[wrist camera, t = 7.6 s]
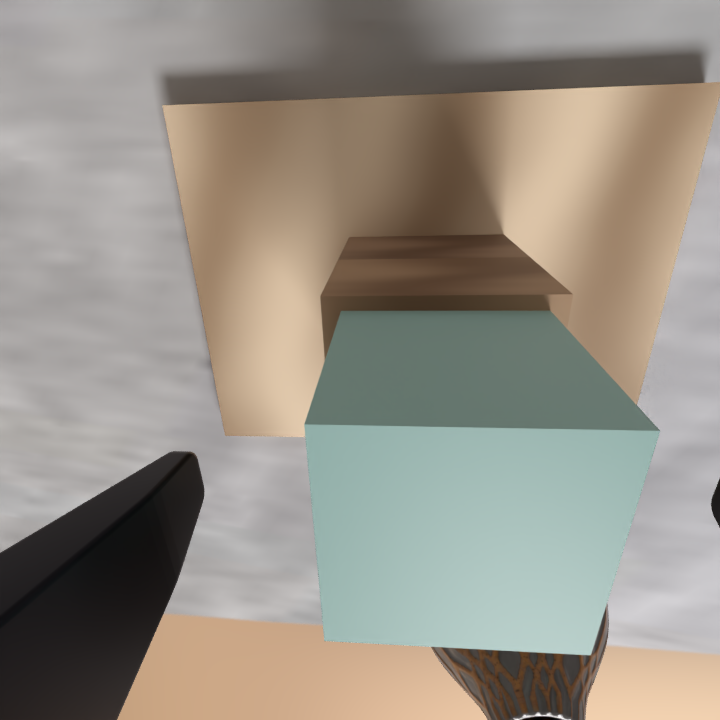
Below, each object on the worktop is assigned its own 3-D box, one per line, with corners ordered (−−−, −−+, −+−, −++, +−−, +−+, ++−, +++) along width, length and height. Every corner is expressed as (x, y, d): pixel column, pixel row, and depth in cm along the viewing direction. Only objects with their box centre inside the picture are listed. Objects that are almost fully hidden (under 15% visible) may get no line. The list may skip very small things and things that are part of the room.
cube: (550, 310, 9) (660, 431, 5) (522, 476, 11) (591, 655, 7) (341, 311, 9) (304, 423, 6) (348, 472, 11) (324, 640, 7)
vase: (531, 425, 19) (631, 633, 11) (586, 537, 21) (700, 775, 13) (383, 483, 20) (374, 697, 13) (448, 580, 23) (476, 811, 15)
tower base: (503, 234, 15) (529, 256, 12) (489, 372, 17) (508, 420, 14) (349, 237, 15) (338, 259, 12) (354, 371, 17) (346, 418, 14)
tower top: (529, 256, 12) (573, 294, 9) (508, 420, 14) (537, 492, 11) (338, 259, 12) (320, 296, 9) (346, 418, 14) (333, 487, 11)
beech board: (705, 85, 13) (723, 82, 13) (617, 430, 18) (626, 442, 18) (173, 106, 14) (162, 105, 14) (231, 424, 20) (225, 435, 19)
